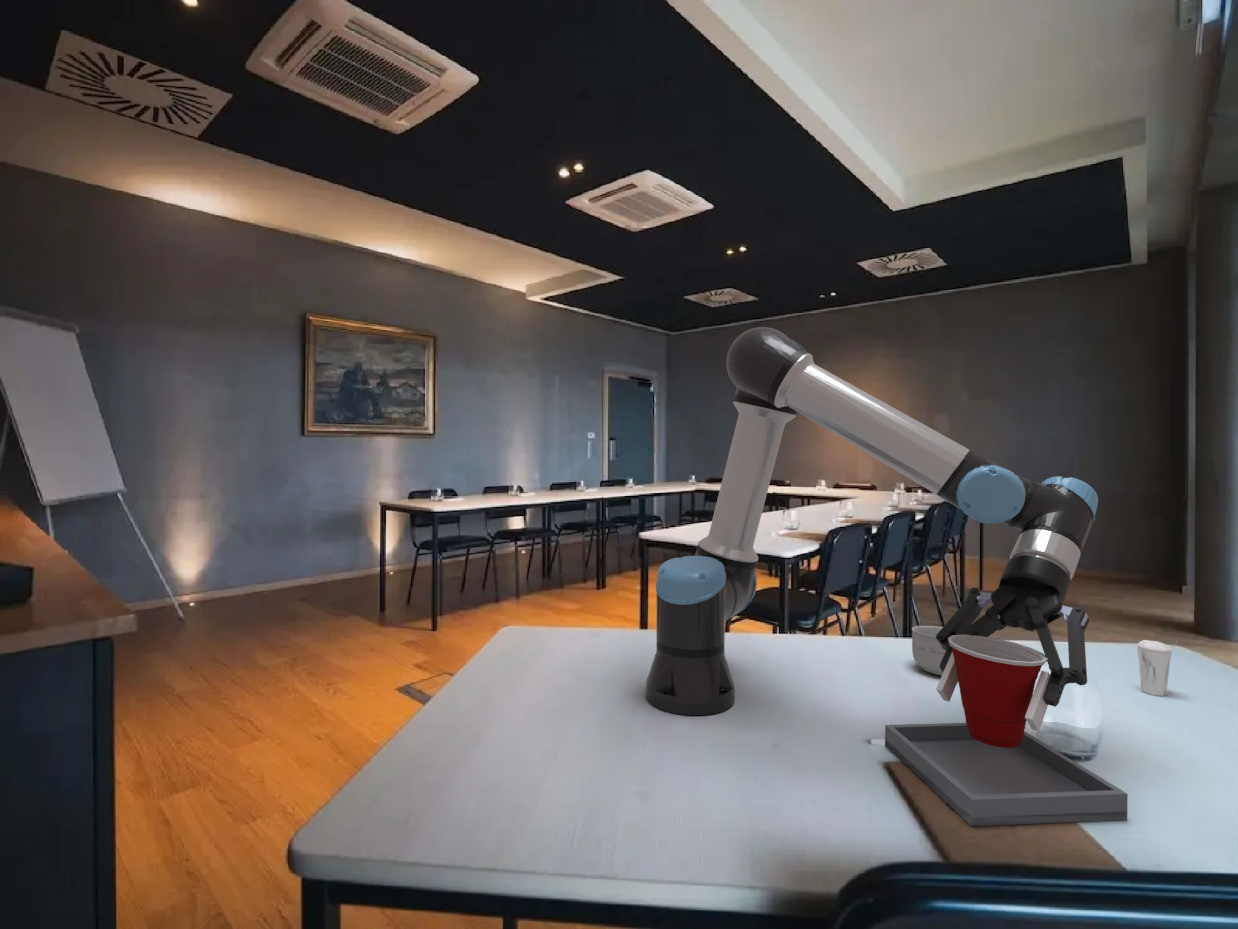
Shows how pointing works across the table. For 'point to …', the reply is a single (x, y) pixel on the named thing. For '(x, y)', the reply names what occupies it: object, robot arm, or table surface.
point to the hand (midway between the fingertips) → (984, 709)
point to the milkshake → (1154, 666)
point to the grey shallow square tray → (1004, 778)
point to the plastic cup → (995, 686)
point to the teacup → (927, 648)
